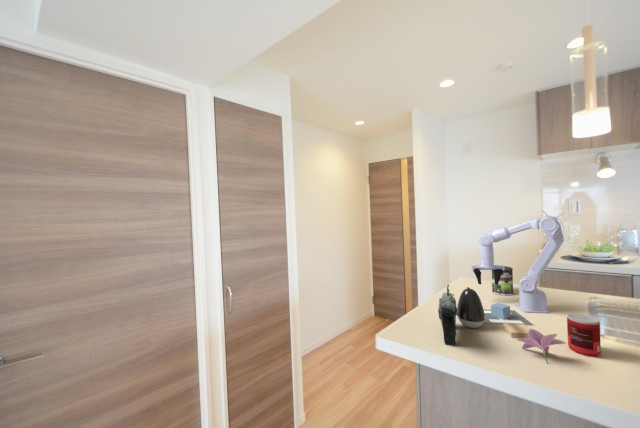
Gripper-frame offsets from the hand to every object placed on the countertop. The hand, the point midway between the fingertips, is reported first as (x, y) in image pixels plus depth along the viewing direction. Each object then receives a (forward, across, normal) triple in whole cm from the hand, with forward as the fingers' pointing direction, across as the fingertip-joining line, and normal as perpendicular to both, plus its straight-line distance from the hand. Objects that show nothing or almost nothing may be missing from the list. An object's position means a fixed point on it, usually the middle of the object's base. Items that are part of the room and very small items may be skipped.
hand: (488, 284), depth 132 cm
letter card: (+9, +2, +18) cm, 20 cm away
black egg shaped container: (+10, +17, +28) cm, 34 cm away
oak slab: (+10, +2, +34) cm, 35 cm away
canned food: (+10, -12, +44) cm, 47 cm away
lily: (+10, +3, +50) cm, 51 cm away
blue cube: (+9, +2, +18) cm, 20 cm away
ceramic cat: (+10, +28, +38) cm, 48 cm away
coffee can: (+10, -13, -17) cm, 23 cm away
